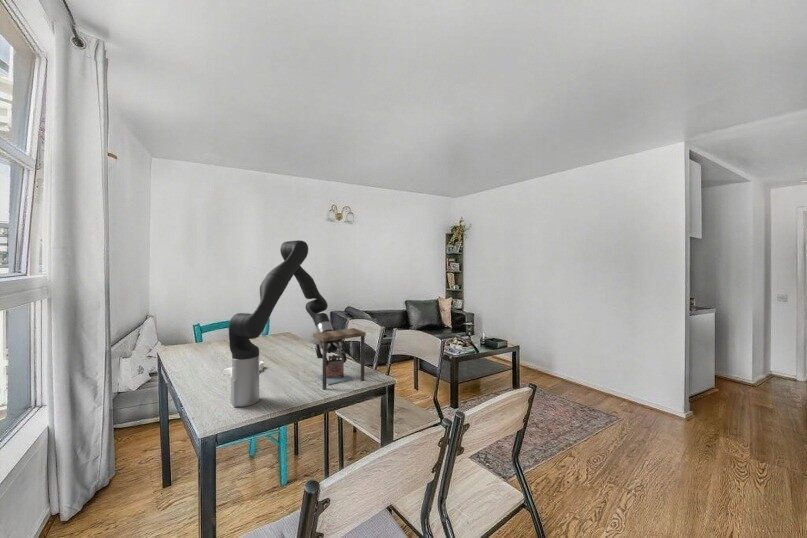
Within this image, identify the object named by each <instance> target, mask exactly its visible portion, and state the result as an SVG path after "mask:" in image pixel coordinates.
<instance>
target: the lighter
mask: <svg viewBox="0 0 807 538" xmlns="http://www.w3.org/2000/svg"><path fill="white" fill-rule="evenodd" d="M328 362H329V364H328V366H327V379H333V378H342V377H344V373H345V372H344V368H345V367H344V365H345V363H344V360H342V355H340V354H337V355H336V354H332V355H329V356H328Z"/></svg>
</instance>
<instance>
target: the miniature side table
mask: <svg viewBox="0 0 807 538" xmlns="http://www.w3.org/2000/svg"><path fill="white" fill-rule="evenodd" d="M366 333H367V332H366V331H362V330H360V329H357V328H354V327H353V328H346V329H345V328H343V329H338V330H336V329H335V330H334V331H328V332H320V333H317V332H314V333H313V332H312V337H313V339H314V338H315V339H317V340H318V341H319V342H320V341H322V342H323V349H322V354H323V359H322V375H323V381H322V390H323V389H326V390H327V384H326V381H327V359H328V356H327V355H328V353H327V341H332V340H337V341H339V340H346V339H353V338H358V337H360V382H364V381H365V351H366V350H365V345H366V344H365V341H366V340H365V337H366V335H367V334H366Z"/></svg>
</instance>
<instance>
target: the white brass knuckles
mask: <svg viewBox="0 0 807 538" xmlns="http://www.w3.org/2000/svg"><path fill="white" fill-rule="evenodd" d="M264 365H265V362H264V361H261V360H259V371H260V372H261V371H262V370H264V369H263V368H264V367H265V366H264ZM222 373H223V374H224V375H225V374H226V375H225V376H230V379H231V377H232V366H231V367H227V368H225V369H223V370H222Z"/></svg>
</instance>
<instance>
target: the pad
mask: <svg viewBox="0 0 807 538" xmlns="http://www.w3.org/2000/svg"><path fill="white" fill-rule="evenodd" d="M317 378H318V379H319V378H320V379H321V380H320V379H319V380H320V381H322V382H323V374H322V375H321V374H320V375H317ZM348 380H349V381H352V380H354V378H353V377H351V376H350V375H348V374H347V373H345V372H344V377H342V378H333V379H327V381H326V385H327V384H328V385H327V386H330V384H331V385H334V383H336V384H339V382H340V383H344V382H348ZM343 381H344V382H343Z"/></svg>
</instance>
